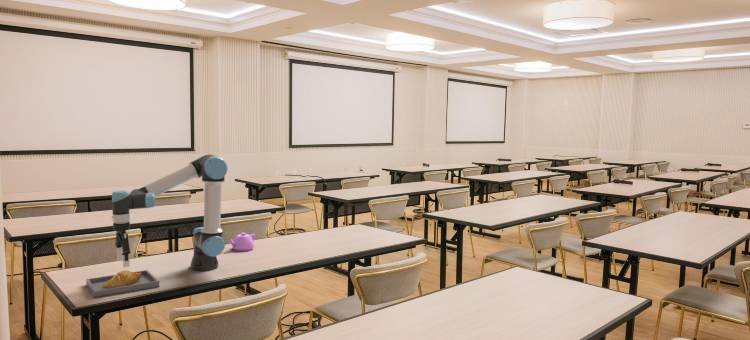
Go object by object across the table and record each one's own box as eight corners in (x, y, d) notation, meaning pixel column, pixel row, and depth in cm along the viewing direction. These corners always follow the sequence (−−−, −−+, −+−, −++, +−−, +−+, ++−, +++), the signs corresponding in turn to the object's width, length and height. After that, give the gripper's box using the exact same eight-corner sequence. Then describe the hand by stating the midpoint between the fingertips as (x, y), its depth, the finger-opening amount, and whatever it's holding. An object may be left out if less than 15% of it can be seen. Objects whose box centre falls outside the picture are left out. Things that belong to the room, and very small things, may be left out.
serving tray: (147, 275, 279) (147, 269, 278) (159, 286, 261) (159, 281, 261) (86, 284, 261) (86, 279, 261) (94, 297, 244) (94, 291, 243)
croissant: (106, 297, 251) (110, 285, 248) (95, 285, 255) (99, 272, 252) (145, 285, 269) (149, 273, 267) (133, 273, 273) (138, 261, 270)
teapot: (222, 249, 335) (222, 233, 334) (249, 244, 350) (249, 229, 349) (234, 253, 326) (234, 237, 325) (261, 248, 340) (261, 232, 339)
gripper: (107, 218, 265) (109, 258, 268) (118, 227, 246) (120, 271, 248) (123, 216, 270) (125, 256, 272) (135, 225, 250) (137, 268, 253)
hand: (123, 263), depth 260 cm, fingers open, 13 cm apart
